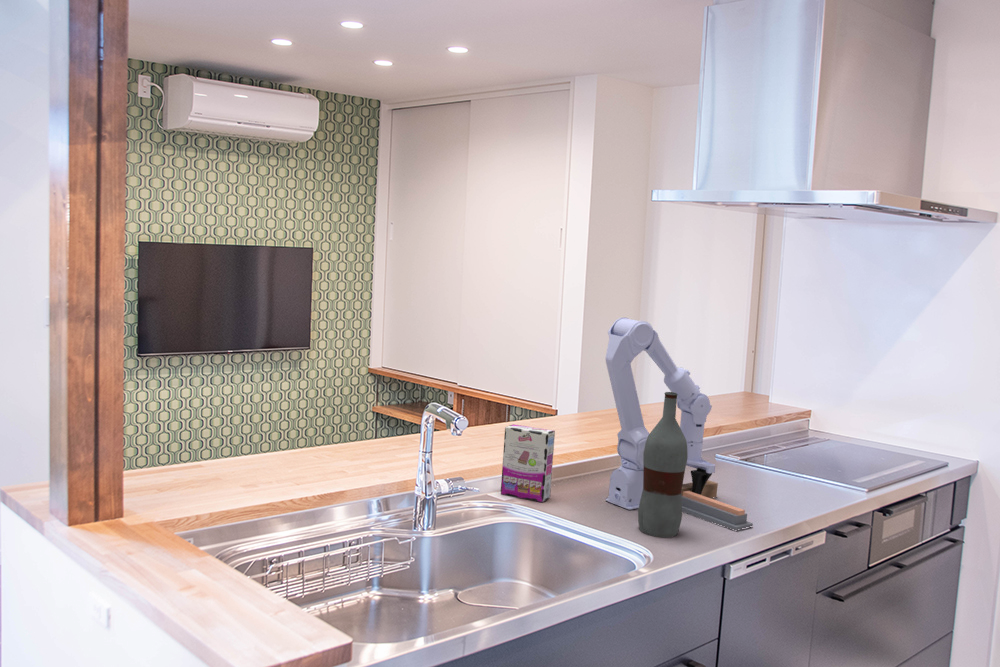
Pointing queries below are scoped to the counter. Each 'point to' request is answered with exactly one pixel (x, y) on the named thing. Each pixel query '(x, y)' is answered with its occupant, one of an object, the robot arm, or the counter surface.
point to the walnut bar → (707, 491)
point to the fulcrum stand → (714, 511)
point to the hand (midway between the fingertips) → (685, 494)
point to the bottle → (663, 474)
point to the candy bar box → (527, 462)
